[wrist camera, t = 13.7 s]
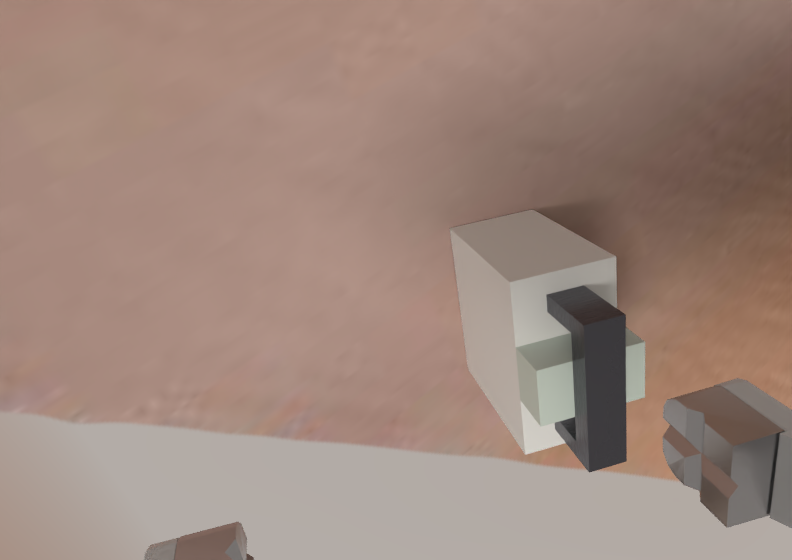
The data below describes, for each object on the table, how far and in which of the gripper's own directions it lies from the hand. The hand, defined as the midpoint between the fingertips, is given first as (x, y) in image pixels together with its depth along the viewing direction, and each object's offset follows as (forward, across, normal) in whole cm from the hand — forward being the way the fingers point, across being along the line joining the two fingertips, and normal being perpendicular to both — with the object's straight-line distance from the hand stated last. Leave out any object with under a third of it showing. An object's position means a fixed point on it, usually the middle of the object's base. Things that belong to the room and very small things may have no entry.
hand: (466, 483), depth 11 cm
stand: (+34, -13, +13) cm, 39 cm away
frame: (+22, -13, +13) cm, 29 cm away
